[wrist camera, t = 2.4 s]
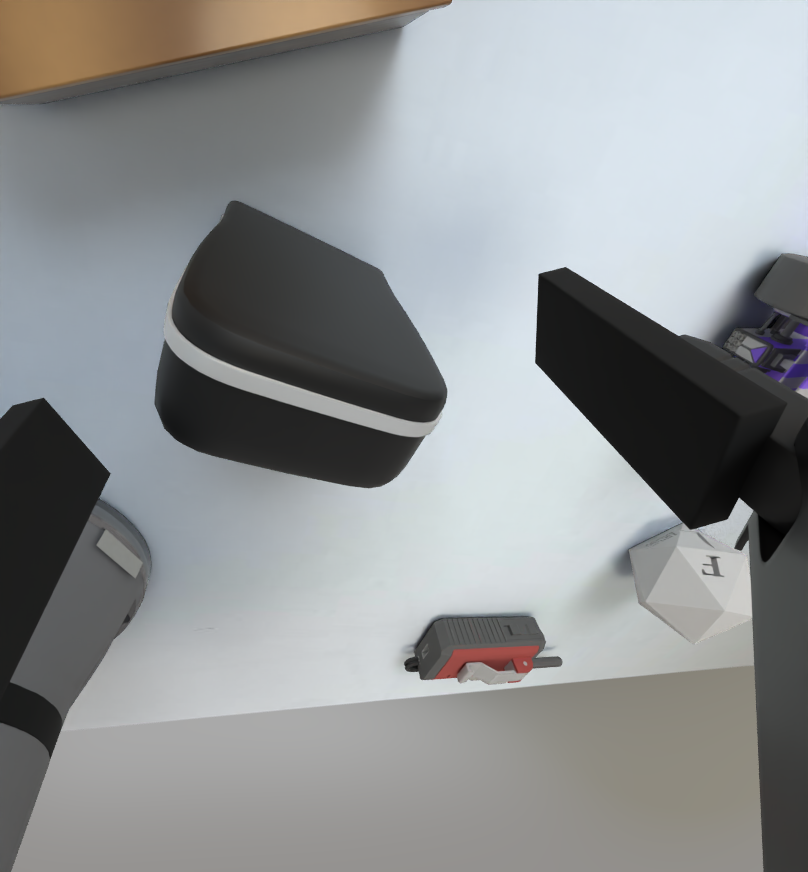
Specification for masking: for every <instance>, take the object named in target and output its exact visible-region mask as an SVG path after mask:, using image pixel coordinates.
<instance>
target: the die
mask: <svg viewBox="0 0 808 872" xmlns="http://www.w3.org/2000/svg"><path fill="white" fill-rule="evenodd" d="M629 554H630V560H631V565H632V570H633V576H634V581H635V587H636V592H637V597H638V603H639V604H640V605H642V606H643V607H644V608H646V609H647V610H648V611H650V612H651V613H652V614H654V615H655V616H656V617H658V618H659V619H660V620H662V621H663V622H664V623H666V624H667V625H668V626H670V627H671V628H672V629H674V630H675V631H676V632H678V633H679V634H680V635H682V636H683V637H684V638H686V639H687V640H688V641H690V642H691V643H692V644H697V643H699V642H701V641H704V640H706V639H708V638H710V637H713V636H715V635H717V634H720V633H722V632H724V631H726V630H729V629H731V628H733V627H735V626H738V625H740V624H742V623H745V622H747V621H749V620H751V619H752V599H751V578H750V572H749V566H748V560H747V555H746V554H744V553H742V552H740V551H738V550H736V549H734V548H732V547H730V546H728V545H726V544H724V543H722V542H720V541H718V540H716V539H714V538H712V537H710V536H708V535H706V534H704V533H702V532H700V531H698V530H696V529H692V530H690V529H689V528H688V527H687V526H686V525H685V524H684V523H682V524H680V525H678V526H676V527H674V528H671V529H669V530H667V531H665V532H663V533H661V534H659V535H657V536H655V537H653V538H651V539H649V540H647V541H645V542H643V543H641V544H639V545H637V546H635V547H633V548H630V549H629Z"/></svg>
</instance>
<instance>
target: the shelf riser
mask: <svg viewBox="0 0 808 872" xmlns="http://www.w3.org/2000/svg"><path fill="white" fill-rule="evenodd" d="M451 3H452V0H0V105H12V104H44V103H49V102H54V101H59V100H63V99H68V98H73V97H77V96H82V95H87V94H91V93H96V92H101V91H105V90H110V89H115V88H119V87H124V86H129V85H133V84H138V83H143V82H147V81H152V80H157V79H161V78H166V77H171V76H175V75H180V74H185V73H189V72H194V71H199V70H203V69H208V68H213V67H218V66H222V65H227V64H232V63H236V62H241V61H246V60H250V59H255V58H260V57H264V56H269V55H274V54H278V53H283V52H288V51H292V50H297V49H302V48H306V47H311V46H316V45H320V44H325V43H330V42H334V41H339V40H344V39H348V38H353V37H358V36H363V35H367V34H372V33H377V32H381V31H386V30H391V29H395V28H400V27H404V26H405V25H407V24H409V23H410V22H412V21H413V20H415V19H417V18H418V17H420V16H421V15H423V14H425V13H426V12H428V11H429V10H434V9H438V8H443V7H446V6H448V5H449V4H451Z"/></svg>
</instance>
